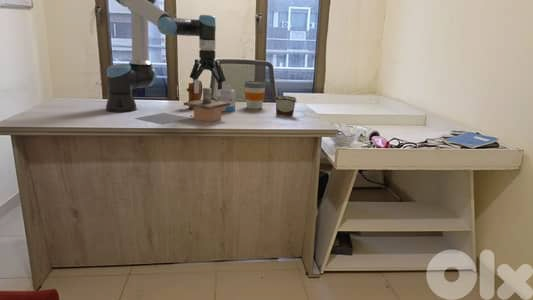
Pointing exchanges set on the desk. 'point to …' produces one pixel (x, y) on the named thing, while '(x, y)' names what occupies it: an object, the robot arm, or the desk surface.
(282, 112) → the food container
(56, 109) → the desk surface
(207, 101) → the lid
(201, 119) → the bowl
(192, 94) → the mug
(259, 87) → the reusable coffee cup
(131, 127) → the desk surface
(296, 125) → the desk surface
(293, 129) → the desk surface
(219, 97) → the clear plastic jar
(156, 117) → the mat
